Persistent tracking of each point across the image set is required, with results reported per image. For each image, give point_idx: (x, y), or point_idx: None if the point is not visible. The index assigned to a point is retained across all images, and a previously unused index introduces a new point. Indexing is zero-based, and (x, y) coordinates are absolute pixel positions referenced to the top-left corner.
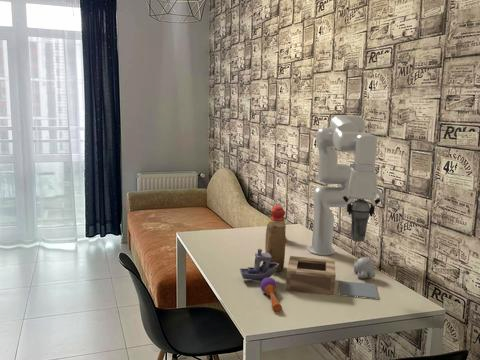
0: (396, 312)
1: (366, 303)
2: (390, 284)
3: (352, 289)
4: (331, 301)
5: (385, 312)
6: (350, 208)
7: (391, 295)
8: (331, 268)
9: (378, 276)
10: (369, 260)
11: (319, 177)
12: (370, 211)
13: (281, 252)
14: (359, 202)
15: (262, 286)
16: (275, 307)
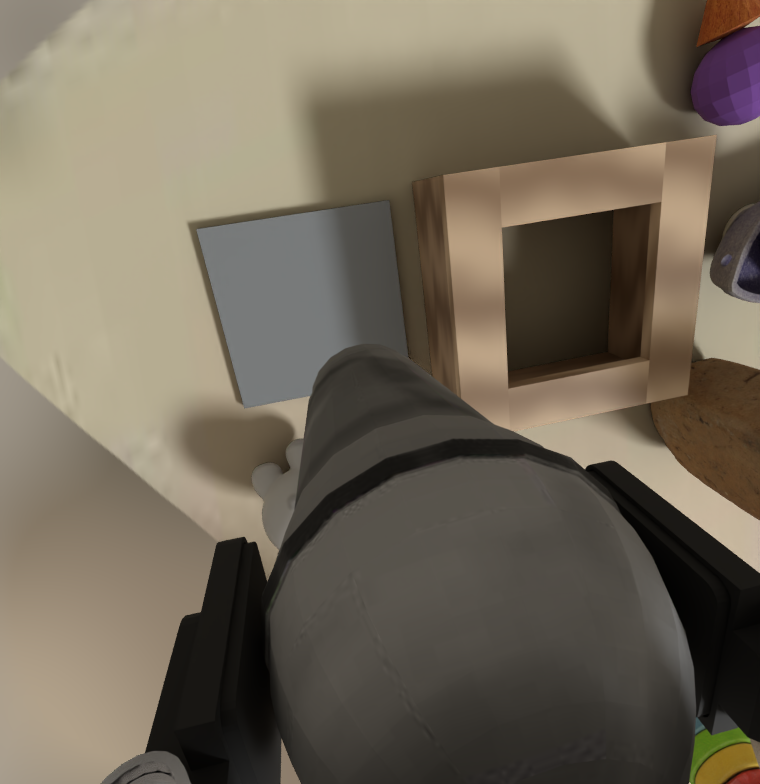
0: (71, 75)
1: (246, 145)
2: (176, 455)
3: (336, 290)
4: (417, 96)
5: (128, 49)
6: (668, 524)
7: (145, 315)
8: (474, 291)
9: (245, 525)
10: (285, 523)
11: None
12: (254, 620)
13: (735, 405)
14: (595, 687)
15: None
16: None
